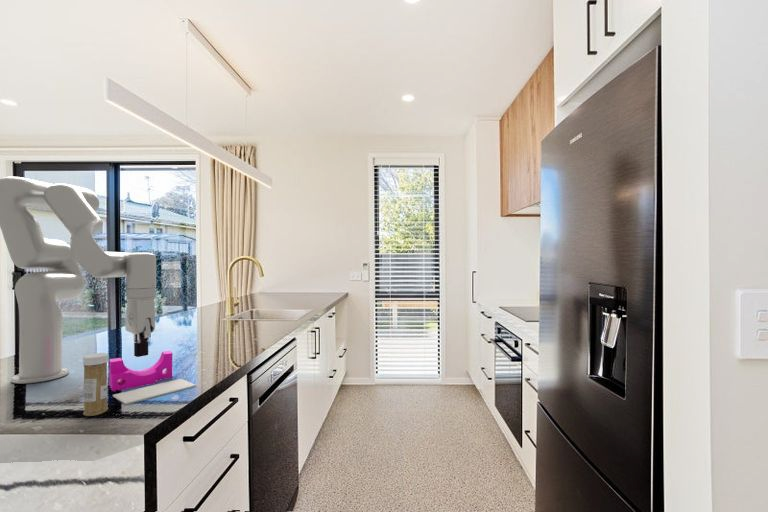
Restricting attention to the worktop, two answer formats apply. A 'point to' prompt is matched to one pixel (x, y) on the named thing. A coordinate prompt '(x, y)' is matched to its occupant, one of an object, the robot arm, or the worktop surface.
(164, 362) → the toy block
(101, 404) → the sprinkles bottle
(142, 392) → the mat
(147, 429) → the worktop surface
